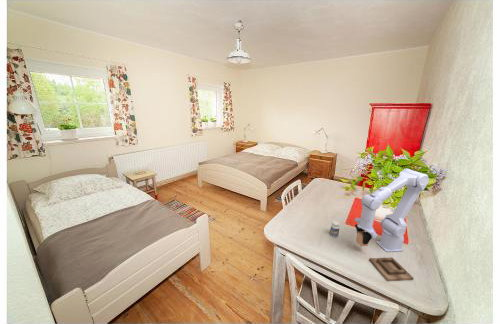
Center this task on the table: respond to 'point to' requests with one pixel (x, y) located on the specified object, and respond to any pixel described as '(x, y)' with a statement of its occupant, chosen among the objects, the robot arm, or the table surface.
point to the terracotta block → (360, 239)
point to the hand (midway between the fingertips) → (362, 240)
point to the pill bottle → (335, 229)
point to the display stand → (390, 269)
